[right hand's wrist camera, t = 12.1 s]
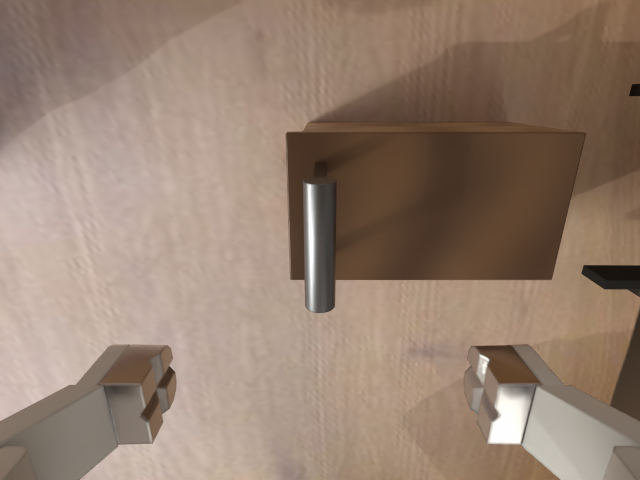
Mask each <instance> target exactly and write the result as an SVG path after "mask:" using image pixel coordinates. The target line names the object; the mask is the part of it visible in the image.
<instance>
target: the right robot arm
mask: <svg viewBox="0 0 640 480" xmlns="http://www.w3.org/2000/svg"><path fill="white" fill-rule="evenodd" d="M172 359H173V356H172V351H171V348H170V347H169V346H168V345H111V346H109V347H108V348H107V349H106V350H105V351H104V353H103V354H102V355H101V356H100V357H99V358H98V360H97V361H96V362H95V363H94V364H93V365H92V367H91V368H90V369H89V370H88V371H87V372H86V374H85V375H84V376H83V377H82V378H81V379H80V381H79V382H78V383H77V384H76V385H69V386H67V387H65V388H63V389H61V390H59V391H57V392H55V393H54V394H52V395H50V396H48V397H46V398H44V399H42V400H40V401H38V402H36V403H34V404H33V405H31V406H29V407H27V408H25V409H23V410H21V411H19V412H17V413H15V414H13V415H12V416H10V417H8V418H6V419H4V420H2V421H0V480H80V479H81V478H82V477H83V476H84V475H86V474H87V473H88V472H89V471H90V470H91V469H92V468H94V467H95V466H96V465H97V464H98V463H99V462H101V461H102V460H103V459H104V458H105V457H106V456H108V455H109V454H110V453H111V452H112V451H113V450H114V449H116V448H117V447H118V445H120V444H153V442H154V440H155V438H156V436H157V434H158V432H159V429H160V427H161V425H162V423H163V418H162V414H163V413H164V412H166V411H167V410H168V409H170V407H171V405H172V402H173V400H174V396H175V392H176V374H175V371H174V370H173V369H172V368H171V367H170V366H169V365H170V363H171V361H172ZM467 359H468V361H469V363H470V365H471V366H470V367H469V368H468V369H467V370H466V371H465V375H464V393H465V396H466V400H467V402H468V405H469V407H470V409H472V410H473V411H474V412H476V413H477V414H478V418H477V423H478V425H479V427H480V429H481V431H482V434H483V436H484V438H485V440H486V442H487V444H519V445H522V447H523V448H525V449H526V450H527V451H528V452H529V453H530V454H531V455H533V456H534V457H535V458H536V459H537V460H538V461H540V462H541V463H542V464H543V465H544V466H545V467H547V468H548V469H549V470H550V471H551V472H552V473H553V474H555V475H556V476H557V477H558V478H559V479H560V480H640V421H638V420H636V419H634V418H632V417H630V416H628V415H626V414H625V413H623V412H621V411H619V410H617V409H615V408H613V407H611V406H609V405H607V404H605V403H604V402H602V401H600V400H598V399H596V398H594V397H592V396H590V395H588V394H586V393H584V392H583V391H581V390H579V389H577V388H575V387H573V386H571V385H564V384H563V383H562V382H561V381H560V379H559V378H558V377H557V376H556V375H555V374H554V372H553V371H552V370H551V369H550V368H549V367H548V365H547V364H546V363H545V362H544V361H543V360H542V358H541V357H540V356H539V355H538V354H537V353H536V351H535V350H534V349H533V348H532V347H531V346H529V345H527V344H522V345H506V346H471V347H470V349H469V351H468V356H467Z"/></svg>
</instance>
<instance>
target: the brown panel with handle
mask: <svg viewBox="0 0 640 480" xmlns="http://www.w3.org/2000/svg"><path fill="white" fill-rule="evenodd" d="M585 135H586V133H583V132H287V133H286V159H287V191H288V224H289V257H290V279H291V280H305V306H306V308H307V309H308V310H309V311H312V312H316V313H324V312H328V311H331V310H332V309H333V308H334V307H335V280H551V279H552V276H553V272H554V267H555V263H556V259H557V255H558V250H559V246H560V242H561V238H562V233H563V229H564V225H565V221H566V216H567V212H568V208H569V204H570V199H571V195H572V191H573V186H574V182H575V178H576V174H577V169H578V165H579V161H580V157H581V152H582V148H583V144H584V140H585Z"/></svg>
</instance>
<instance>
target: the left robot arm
mask: <svg viewBox="0 0 640 480" xmlns="http://www.w3.org/2000/svg"><path fill="white" fill-rule="evenodd" d="M629 96H640V84H632V87H631V91H630V95H629ZM582 274H583V275H584V276H586V277H587V278H589V279H590V280H592V281H593V282H595V283H596V284H598V285H599V286H600V287H602V288H603V289H628V290H629V291H631V292H633V293H634V294H636V295H637V296H639V297H640V266H624V265H584V266H583V270H582Z"/></svg>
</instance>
